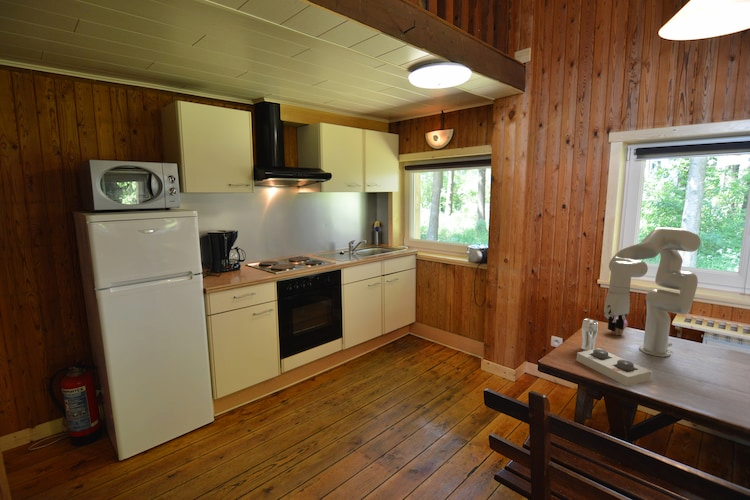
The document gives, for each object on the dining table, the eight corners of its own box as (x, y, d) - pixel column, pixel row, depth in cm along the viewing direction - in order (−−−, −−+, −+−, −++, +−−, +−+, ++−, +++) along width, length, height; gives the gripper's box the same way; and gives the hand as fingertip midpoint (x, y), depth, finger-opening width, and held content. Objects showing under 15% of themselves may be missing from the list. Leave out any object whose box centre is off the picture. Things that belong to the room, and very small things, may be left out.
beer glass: (598, 352, 187) (600, 323, 184) (582, 351, 188) (585, 323, 186) (593, 346, 194) (595, 319, 191) (578, 345, 195) (580, 318, 192)
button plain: (599, 354, 178) (599, 348, 178) (610, 359, 173) (611, 353, 172) (589, 356, 176) (590, 350, 176) (601, 361, 171) (601, 355, 170)
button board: (598, 355, 183) (599, 347, 183) (650, 379, 160) (651, 370, 159) (576, 360, 179) (577, 352, 178) (627, 386, 155) (628, 376, 155)
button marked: (623, 365, 167) (623, 358, 166) (636, 371, 161) (637, 364, 161) (613, 367, 165) (614, 361, 164) (626, 373, 159) (627, 367, 159)
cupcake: (608, 330, 216) (610, 313, 214) (626, 333, 211) (628, 316, 209) (607, 335, 209) (608, 317, 207) (626, 338, 204) (627, 320, 202)
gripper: (624, 285, 169) (621, 324, 172) (597, 289, 164) (593, 329, 167) (641, 289, 162) (637, 329, 165) (613, 293, 157) (609, 335, 160)
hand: (615, 329), depth 166 cm, fingers open, 4 cm apart
